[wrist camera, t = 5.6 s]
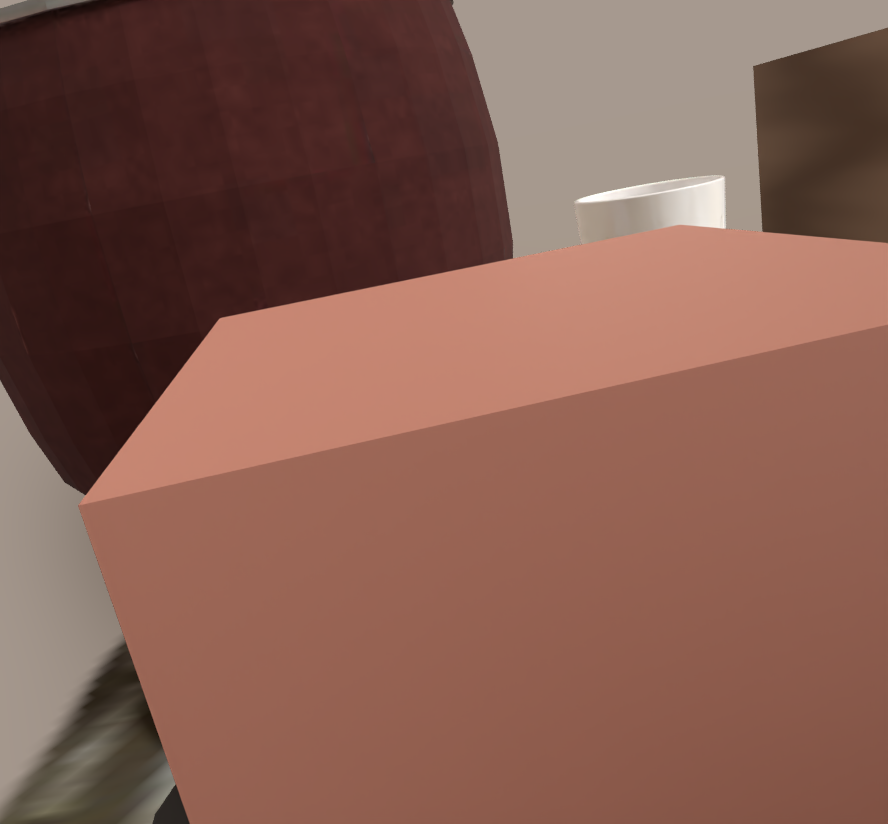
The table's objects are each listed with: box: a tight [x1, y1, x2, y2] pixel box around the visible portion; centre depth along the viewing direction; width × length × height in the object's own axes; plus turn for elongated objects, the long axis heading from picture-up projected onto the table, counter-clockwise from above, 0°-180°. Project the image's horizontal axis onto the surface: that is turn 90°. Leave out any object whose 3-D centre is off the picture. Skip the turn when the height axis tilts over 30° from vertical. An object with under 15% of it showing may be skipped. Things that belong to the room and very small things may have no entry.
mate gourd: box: [0, 0, 513, 495], centre depth 22 cm, size 16×14×20 cm
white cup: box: [574, 175, 726, 245], centre depth 43 cm, size 8×8×10 cm
